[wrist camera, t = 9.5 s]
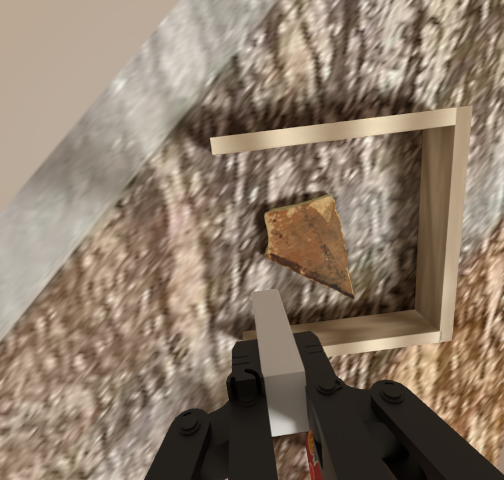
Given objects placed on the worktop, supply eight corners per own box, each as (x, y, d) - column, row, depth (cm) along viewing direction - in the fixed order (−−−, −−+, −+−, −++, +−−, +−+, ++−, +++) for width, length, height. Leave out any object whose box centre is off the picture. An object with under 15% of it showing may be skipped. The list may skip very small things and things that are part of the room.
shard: (349, 292, 30) (355, 300, 29) (278, 310, 31) (280, 319, 29) (331, 191, 27) (337, 194, 26) (252, 212, 28) (253, 216, 26)
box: (243, 341, 31) (244, 367, 27) (214, 140, 25) (210, 137, 21) (425, 317, 31) (451, 340, 27) (437, 113, 25) (472, 105, 21)
